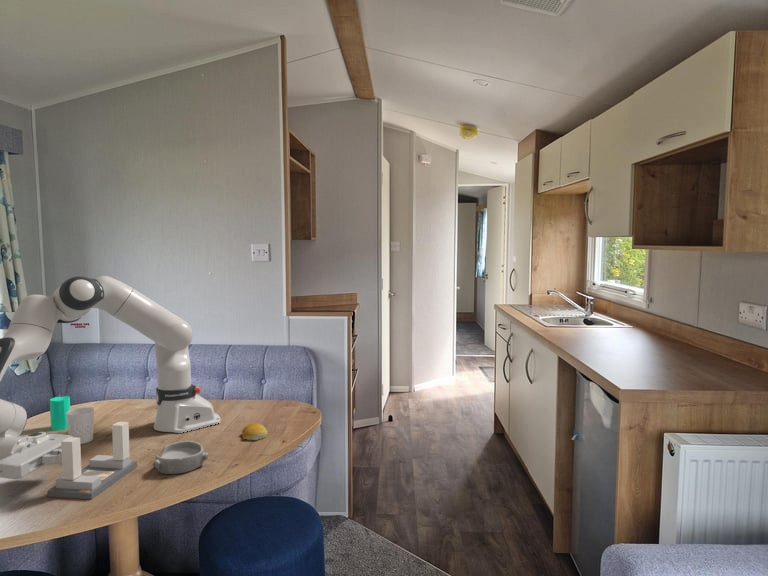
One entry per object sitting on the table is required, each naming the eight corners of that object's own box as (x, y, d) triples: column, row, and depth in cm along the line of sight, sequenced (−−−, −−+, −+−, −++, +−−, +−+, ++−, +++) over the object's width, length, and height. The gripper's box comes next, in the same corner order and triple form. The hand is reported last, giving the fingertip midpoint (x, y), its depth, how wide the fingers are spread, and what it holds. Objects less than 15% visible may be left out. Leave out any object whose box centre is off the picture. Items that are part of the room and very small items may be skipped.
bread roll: (243, 442, 172) (243, 431, 171) (241, 433, 180) (241, 422, 180) (269, 439, 175) (269, 428, 174) (265, 430, 183) (265, 419, 183)
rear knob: (113, 459, 147) (112, 425, 147) (119, 455, 150) (118, 421, 150) (123, 460, 147) (122, 425, 146) (129, 456, 150) (128, 422, 149)
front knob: (62, 479, 135) (61, 441, 134) (70, 474, 138) (69, 437, 137) (73, 479, 135) (72, 442, 134) (81, 474, 138) (80, 437, 137)
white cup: (64, 441, 171) (62, 411, 170) (90, 434, 177) (89, 405, 176) (71, 447, 166) (70, 416, 165) (98, 440, 172) (97, 410, 171)
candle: (74, 425, 186) (73, 391, 185) (63, 430, 180) (61, 396, 179) (59, 424, 187) (57, 391, 186) (46, 430, 181) (45, 396, 180)
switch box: (47, 496, 134) (47, 483, 133) (98, 464, 154) (98, 452, 153) (91, 499, 132) (91, 485, 132) (137, 466, 152) (136, 454, 152)
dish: (154, 479, 144) (154, 462, 144) (154, 460, 157) (154, 444, 157) (209, 471, 150) (209, 454, 150) (205, 453, 163) (205, 437, 162)
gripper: (-18, 458, 127) (34, 462, 126) (45, 429, 147) (91, 431, 146) (-17, 484, 128) (35, 487, 126) (46, 451, 148) (92, 453, 146)
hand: (66, 457), depth 136 cm, fingers closed, pressing on front knob
